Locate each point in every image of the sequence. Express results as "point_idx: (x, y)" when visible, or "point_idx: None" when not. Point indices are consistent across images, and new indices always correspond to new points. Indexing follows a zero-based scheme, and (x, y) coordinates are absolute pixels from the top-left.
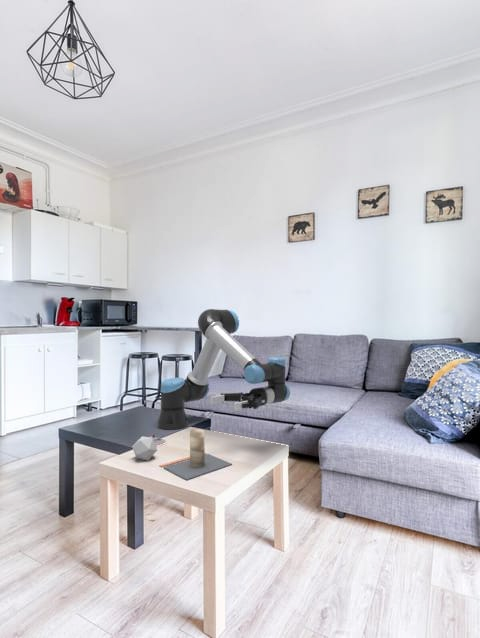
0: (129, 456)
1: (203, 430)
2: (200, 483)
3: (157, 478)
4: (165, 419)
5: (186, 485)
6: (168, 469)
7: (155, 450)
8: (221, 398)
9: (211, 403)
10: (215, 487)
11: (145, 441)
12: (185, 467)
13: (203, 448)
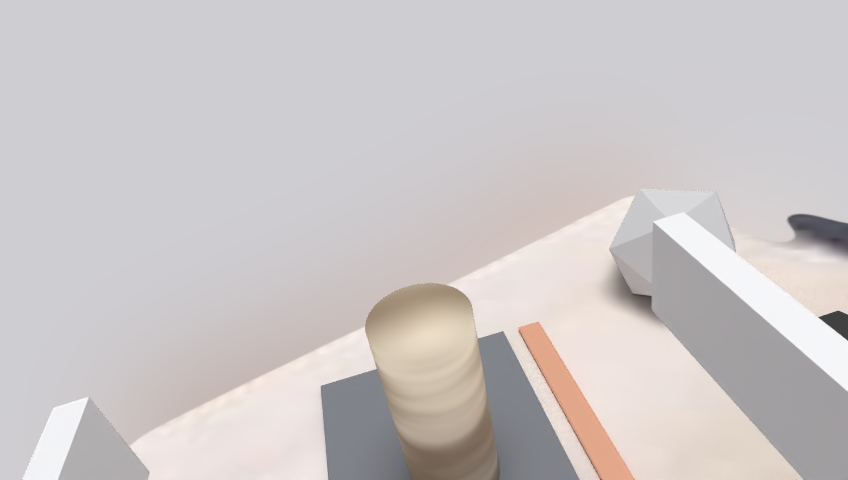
0: None
1: (412, 354)
2: (257, 432)
3: None
4: None
5: (282, 381)
6: None
7: (651, 285)
8: (820, 424)
9: (658, 301)
10: (174, 477)
11: (641, 210)
12: None
13: (398, 427)
